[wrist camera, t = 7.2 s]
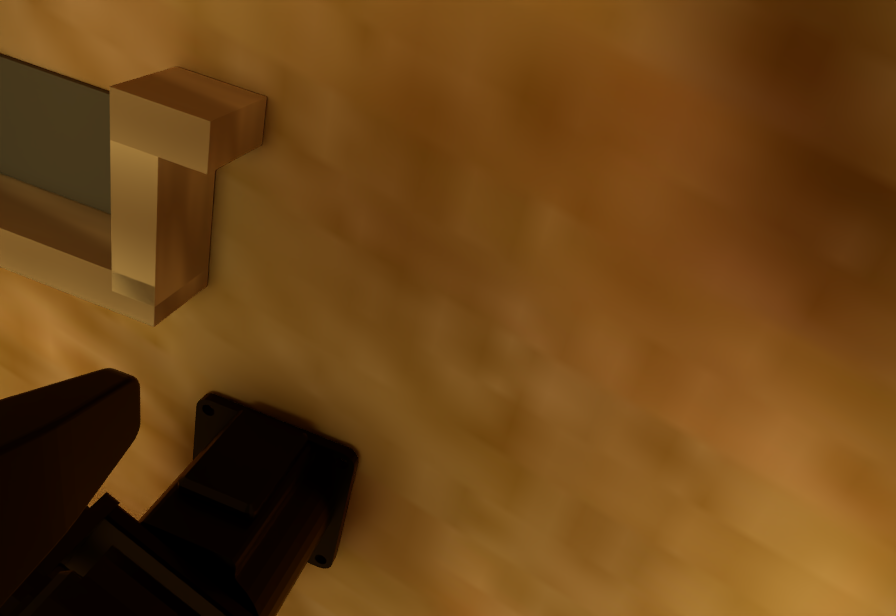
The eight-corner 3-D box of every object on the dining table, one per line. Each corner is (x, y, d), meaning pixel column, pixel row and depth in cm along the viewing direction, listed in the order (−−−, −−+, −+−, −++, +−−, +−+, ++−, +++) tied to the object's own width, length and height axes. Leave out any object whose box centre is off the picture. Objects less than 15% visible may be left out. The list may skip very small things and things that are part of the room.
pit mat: (170, 232, 25) (166, 235, 25) (-5, 167, 26) (-10, 169, 25) (174, 114, 23) (171, 116, 22) (-18, 47, 23) (-23, 48, 23)
